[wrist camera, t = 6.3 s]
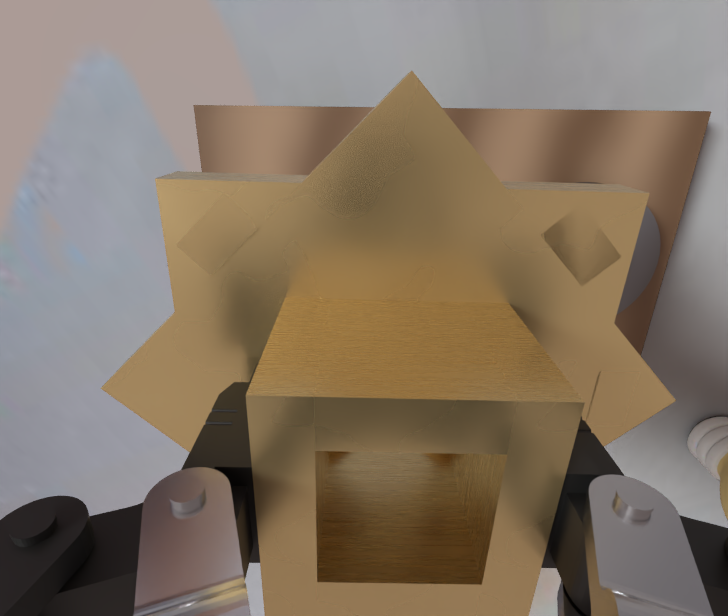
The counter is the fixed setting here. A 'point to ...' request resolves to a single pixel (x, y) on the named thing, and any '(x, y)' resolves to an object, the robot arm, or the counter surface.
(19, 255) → the counter surface
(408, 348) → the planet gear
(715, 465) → the light bulb
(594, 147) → the wooden peg board
